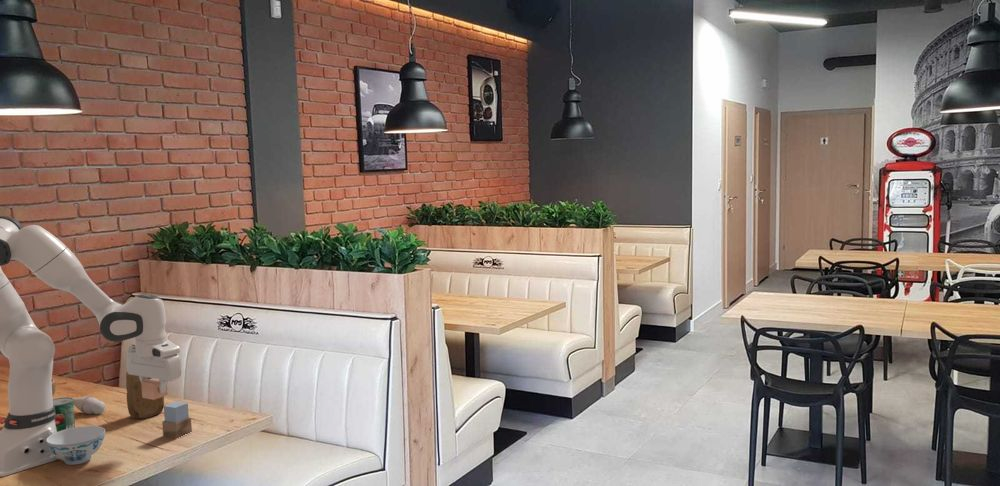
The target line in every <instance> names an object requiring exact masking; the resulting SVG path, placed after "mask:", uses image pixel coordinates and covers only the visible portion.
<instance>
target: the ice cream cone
mask: <svg viewBox="0 0 1000 486" xmlns="http://www.w3.org/2000/svg"><path fill="white" fill-rule="evenodd" d="M73 404H74V408H77V410H79V411H80V412H81V413H82V414H88V415H91V414H94V415H99V414H103V412H104V411H105V410H106V404H105V403H104V402H103V401H101V400H99V399H98V398H97V397H93V396H92V395H88V396H80V397H75V398H73Z"/></svg>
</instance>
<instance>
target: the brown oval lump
mask: <svg viewBox="0 0 1000 486" xmlns="http://www.w3.org/2000/svg"><path fill="white" fill-rule="evenodd" d="M125 374H126V375H125V378H126V380H125V381H126V385H125V386H126V405H127V412H128V414H129V415H130V417H131V418H132V419H134V420H142V419H144V420H145V419H147V418H148V419H149V418H152V417H155V416H157V415H160V414H161V413H162V412H163V411H164V406H165V396H163V397H161V398H158V399H155V400H152V399H147V398H142V385H141V381H140V379H139V376H136V375H130V374H128V373H127V371H126V373H125ZM147 379H152V378H147Z"/></svg>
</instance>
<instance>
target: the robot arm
mask: <svg viewBox="0 0 1000 486" xmlns="http://www.w3.org/2000/svg"><path fill="white" fill-rule="evenodd" d="M11 260H13V261H18V262H20V263H21V264H22V265H25V267H26V268H28V270H29V271H31V272H32V274H34V276H36V277H37V278H38V279H39V280H40V281H42V282H43V283H44V284H46V285H48V286H49V287H51V288H53V289H54V290H55V289H56V290H60V291H65V292H67V293H69V294H71V295H73V296H74V297H75V298H76V299H78V301H80V303H82V304H83V305H84V306H85V307H86V308H88V310H90V311H91V312H92V313H93V315H94V316H95V318H96V322H97V325H98V326H99V331H100V334H101V335H102V336H103V338H104V339H105V340H107V341H110V342H117V343H118V342H123V341H126V340H131V339H133V338H134V342H135V343H134V344H131V345H130V346H129V347H128V349H127V354H126V361H125V363H126V364H125V367H126V369H125V370H126V371H127V373H128V374H130V375H136V376H139V379H140V381H141V382H142V381H145V380H148V379H147V378H154V379H159V382H160V383H161V384H160V387H157V389H158V393H165V392H166V385H167V386H168V383H169V382H173V381H177V380H179V379H180V378H181V376H182V362H181V358H180V355H179V354H180V352H181V348H180V347H179V345H177V344H175V343H174V342H172V341H171V340H169V339H168V334H167V331H166V324H167V315H166V309H165V304H164V301H163V299H162V298H161V297H159V296H157V295H154V294H145V293H144V294H138V295H135V296H134V297H133V298H131V299H130V300H129V301H127V302H125V303H123V302H121V301H117V300H114V299H113V298H111V297H110V296H109V295H107V293H106V292H104V291H103V290H102V289H101V287H99V286H98V285H97V284H96V283H95V282H93V280H92V279H91V278H90V277H89V275H88V273H87V272H86V270H85V268H84V266H83V264H82V263H81V261H80V260H79V258H78V257H77V256H76V255H75V254H74V252H73V251H72V250H71V249H70V248H69V247H68V246H67V245H65V243H64V242H63V241H61V240H60V239H59V238H58V237H57V236H55V235H54V234H52V233H51V232H50V231H48V229H47V230H46V229H45V228H43V227H42V226H40V225H37V224H30V225H26V226H23V225H22V224H21V222H19V221H18V220H17V219H16V218H14V217H12V216H8V215H0V353H1V354H2V355H3V356H4V357H5V358H7V359H8V361H9V376H8V384H7V398H8V399H7V400H8V411H9V412H8V413H7V416H6V417H4V416H1V415H0V425H3V424H4V425H3V428H2V429H0V477H6V476H8V475H9V476H10V475H12V474H15V473H19V472H21V471H24V470H29V469H32V468H34V467H38V466H41V465H45V464H48V463H52V462H54V461H57V460H59V458H57V457H56V456H55V455H53V453H52V452H51V451H50V449H49V447H48V445H47V442H46V439H47V438H48V437H49V436H50V435H52V434H54V433H56V432H57V430H56V425H55V421H56V412H55V406H54V405H53V399H54V396H52V381H51V380H52V379H53V369H54V357H55V354H56V346H55V344H54V341H53V339H52V338H51V336H50V335H48V334H47V333H46V332H44V331H42V330H41V329H39V328H38V327H37V325H36V324H35V323H34V321H33V319H32V318H31V316H30V314H29V311H28V309H27V307H26V305H25V302H24V301H23V300H22V298H21V296H20V295H19V293H18V292H17V291H16V289H15V287H14V286H13V284H12V282H11V281H10V280H9V279H8V277H7V276H6V274H5V273H4V271H3V270H2V266H5V265H7V264H9V263H10V261H11Z"/></svg>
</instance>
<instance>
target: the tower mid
mask: <svg viewBox="0 0 1000 486" xmlns="http://www.w3.org/2000/svg"><path fill="white" fill-rule="evenodd" d="M163 414H164V421H167V422H172V423H178V422H180V421H183V420H185V419H188V418H190V415H189V403H188V402H183V401H178V400H177V401H176V400H175V401H173V402H170V403H167V404H164V407H163Z"/></svg>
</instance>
